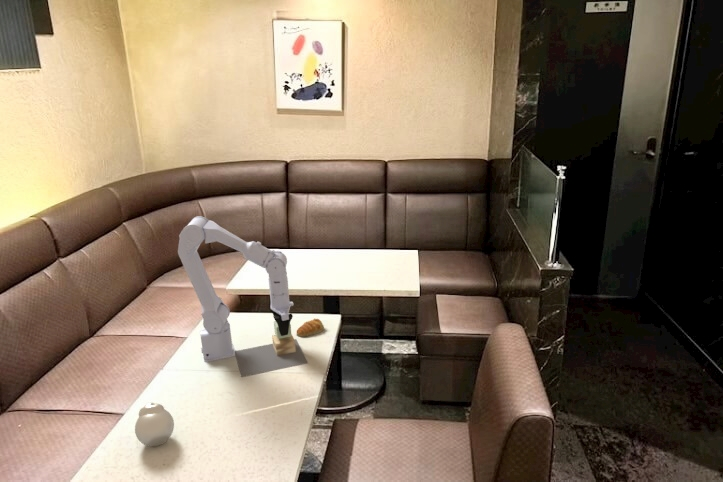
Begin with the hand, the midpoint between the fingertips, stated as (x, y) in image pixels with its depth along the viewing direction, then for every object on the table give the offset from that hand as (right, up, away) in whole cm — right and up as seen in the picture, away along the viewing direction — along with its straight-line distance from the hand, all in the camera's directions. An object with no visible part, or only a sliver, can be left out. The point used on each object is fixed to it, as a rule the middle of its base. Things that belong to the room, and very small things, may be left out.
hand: (282, 331), depth 169 cm
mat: (-3, -8, -2) cm, 9 cm away
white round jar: (-25, -21, -37) cm, 50 cm away
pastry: (+8, -3, +13) cm, 16 cm away
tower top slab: (0, -4, +1) cm, 4 cm away
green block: (0, -1, 0) cm, 1 cm away
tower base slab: (0, -6, +2) cm, 6 cm away
